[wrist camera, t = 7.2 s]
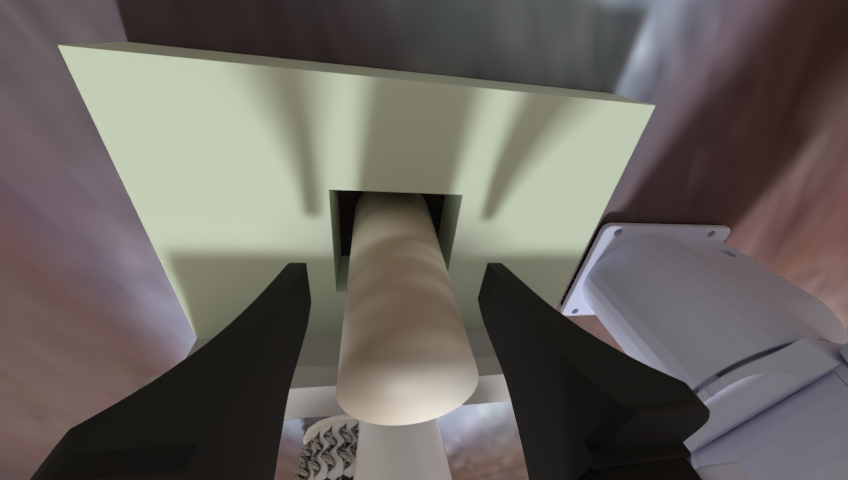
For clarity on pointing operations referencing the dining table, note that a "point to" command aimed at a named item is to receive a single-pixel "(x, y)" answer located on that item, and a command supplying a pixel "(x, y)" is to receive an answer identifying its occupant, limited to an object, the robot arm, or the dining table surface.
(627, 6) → the dining table surface
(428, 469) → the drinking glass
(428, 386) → the peg
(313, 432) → the decorative candle
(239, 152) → the socket board
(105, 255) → the dining table surface
